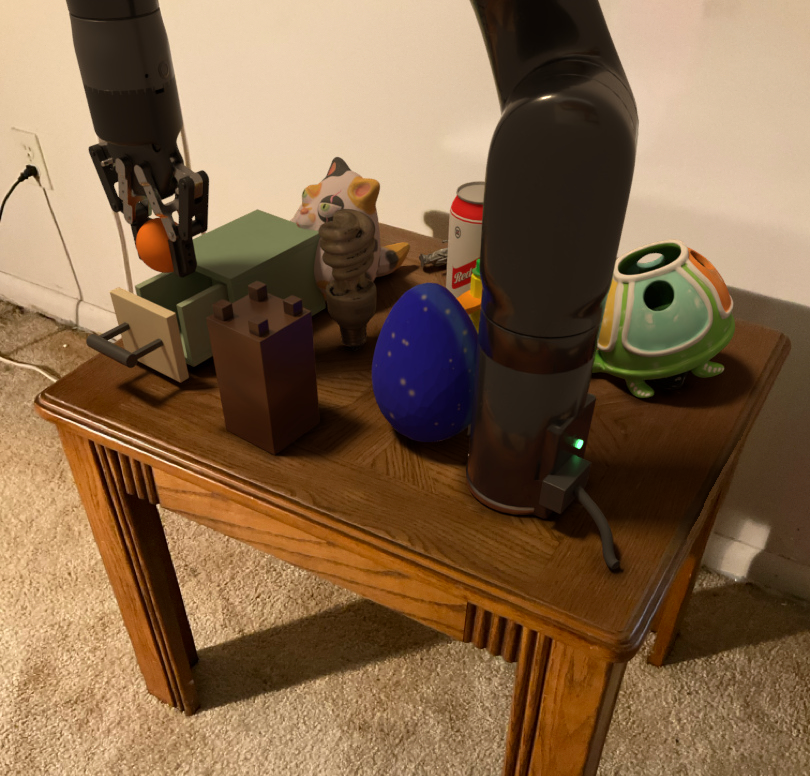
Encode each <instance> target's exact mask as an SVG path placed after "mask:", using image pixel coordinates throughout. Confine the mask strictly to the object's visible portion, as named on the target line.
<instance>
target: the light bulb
mask: <svg viewBox="0 0 810 776" xmlns="http://www.w3.org/2000/svg"><path fill="white" fill-rule="evenodd" d="M318 233H319V235H320V237H321V240H320V247H321V249H322V250H323V251H324V254H323V256H322V260H323V262H324V263H325V264H326V265H328V266H330V267H332V276H333V278H334V280H333V281H331V282H330V283H329V284H328V285H327V286H326V300H327V301H326V305H327V306H326V307H327V312H328V314H329V315H330V317H331V319H333V320H334V322H335V323H336V324H337V325H338V327H339V332H340V339H341V344H342V345H343V346H346V347H350V349H351V351H358V350H360V349H361V348H362V347H363V345H364V344H366V342H367V340H368V333H367V326H368V323H369V322H370V321H371V319H372V318H373V317H374V316H375V313H376V311H377V285H376V284H375V283H374V281H371V280H369V279H367V278H365V272H366V271H367V270H368V269H369V268H370V267H371V266H372V264H373V261H374V253H373V250H374V247H375V240H374V235H375V224H374V222H373V221H372V219H371V218H370V217H369V216H367V215H366V214H364V213H362V212H360V211H357V210H353V209H340V210H337V211H335V213H334V215H333V221H330V222H326V223H324V224H322V225H321V226H320V227H319V230H318Z"/></svg>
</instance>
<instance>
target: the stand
mask: <svg viewBox="0 0 810 776" xmlns="http://www.w3.org/2000/svg"><path fill="white" fill-rule="evenodd" d="M248 292H249V295H247V296H245V297H243V298H241V299H240V300H238V301H236V302H234V303H230V302H228V301H226V300H223V299H222V300H220V301H218V302H216V303H214V304H212V306H213V311H214V314H212V315H210V316H208V317H207V318H206V320H207V325H208V331H209V336H210V342H211V347H212V353H213V356H212V358H213V364H214V369H215V375H216V381H217V385H218V391H219V397H220V402H221V407H222V414H223V419H224V424H225V430H226V431H228V432H230V433H231V434H233V435H235V436H237V437H239V438H240V439H243V440H244V441H246V442H249V443H250V444H253V445H254V446H256V447H258V448H260V449H262V450H264V451H266V452H268V453H269V454H271V455H273V456H276V455H278V454H279V453H280V452H282V451H283V450H285V449H286V448H287V447H289V446H290V445H292V444H293V443H294V442H295V441H297V440H298V439H299V438H302V436H304V435H305V434H307V433H308V432H309V431H311V430H313V429H314V428H315V427H316V426H318V425H319V424H320V423H321V417H320V405H319V393H318V392H319V391H318V380H317V366H316V356H315V355H316V354H315V342H314V341H315V340H314V329H313V316H312V315H311V311H309V310H307V309H305V308H303V306H302V299H300V298H298V297H295V296H293V295H291V296H290V297H288V298H286V299H284V300H283V299H281V298H278V297H276V296H273V295H271V294H269V293H267V286H266V284H264V283H261V282H259V281H255V282H254V283H252V284H250V285H248Z"/></svg>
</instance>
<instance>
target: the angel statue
mask: <svg viewBox="0 0 810 776" xmlns="http://www.w3.org/2000/svg"><path fill="white" fill-rule="evenodd" d="M441 243H442V244H445V243H448V239H442V240H441ZM447 256H448V247H445V248H441V249H438V250H436V251H433V252H432V253H428V254H423V252H421V253H420V254H419V255H418V260H419V261H420V267H421V268H424V267H425V266H426V265H433V266H435V267H440V266H441V267H442V266H443V265H447Z"/></svg>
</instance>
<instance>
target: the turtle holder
mask: <svg viewBox="0 0 810 776" xmlns="http://www.w3.org/2000/svg"><path fill="white" fill-rule="evenodd" d="M652 254H658V255H660V256H659V257H658V258H656V259H654V260H652V261H648V262H639V261H640V260H641V259H643V258H644V257H646V256H648V255H652ZM733 310H734V300H733V298H732V296H731V295H730V292H729V289H728V286H727V284H726V282H725V280H724V278H723V276H722V275H721V273H720V272H719V270H718V269H717V267H715V266H714V265H713V263H712V262H711V261H709V260H708V259H707V257H705V256H704V255H702V254H701V253H700V252H698V251H696V250H695V249H692V248H690V247H688V246H687V244H685V242H684V241H682V240H680V239H675V238H674V239H664V240H663V239H662V240H660V241H654V242H650V243H648V244H644V245H641V246H639V247H636V248H634V249H632V250H629V251H626V252H625V253H623V254H622V255H620V256H619V257H617V258H616V263H615V268H614V274H613V279H612V284H611V287H610V291H609V294H608V298H607V302H606V307H605V312H604V316H603V321H602V326H601V331H600V336H599V341H598V346H597V351H596V355H595V360H594V366H593V371H592V374H597V373H604V374H608V375H611V376H613V377H616V378H619V379H623V380H625V385H626V388H627V389H628V390H629V392H630V393H631V394H632V396H634V397H636V398H639V399H646V398H647V399H648V398H651V397H653V396H654V395H655V390H654V389H653V387H652V386H650V385H649V384H648V383H646V381H647V380H648V381H649V380H650V379H659V378H665V377H669V376H673V375H677V374H680V373H683V372H686V371H689V372H691V374H692V375H694V376H695V377H698V378H713V377H715V376H718V375H721V374H722V373H723V372H725V371H724V370H725V366H724V365H723V364H721V363H718V362H716V361H715V362H714V361H710V360H711V359H714V357H716V355H718V354H719V353H720V352H721V351H723V350H724V349H725V348H726V347H727V346H728V345H729V344H730V343H731V341H732V339H733V337H734V335H735V332H736V321H735V317H734V315H733ZM650 381H651V380H650Z"/></svg>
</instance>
